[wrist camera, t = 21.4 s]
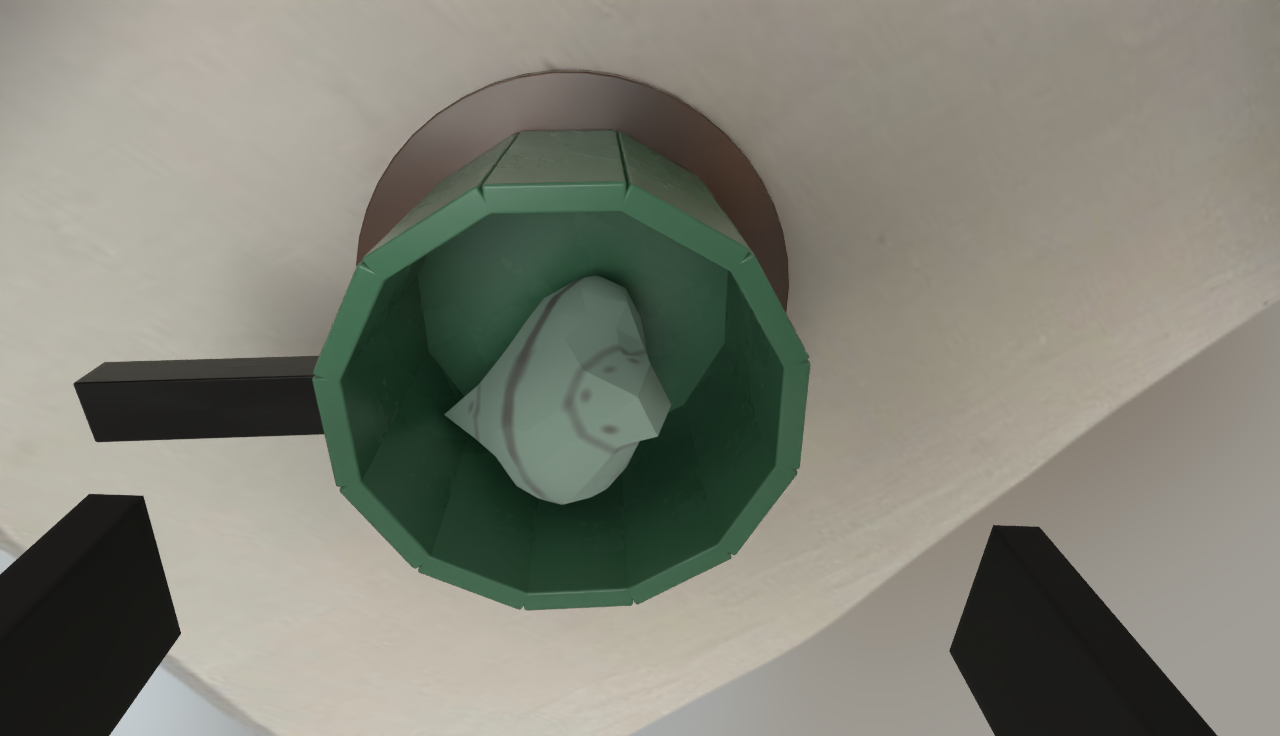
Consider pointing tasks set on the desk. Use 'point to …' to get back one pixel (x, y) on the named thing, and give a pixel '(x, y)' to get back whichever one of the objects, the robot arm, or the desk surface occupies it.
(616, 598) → the pot
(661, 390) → the robot head
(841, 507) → the desk surface
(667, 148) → the disc
